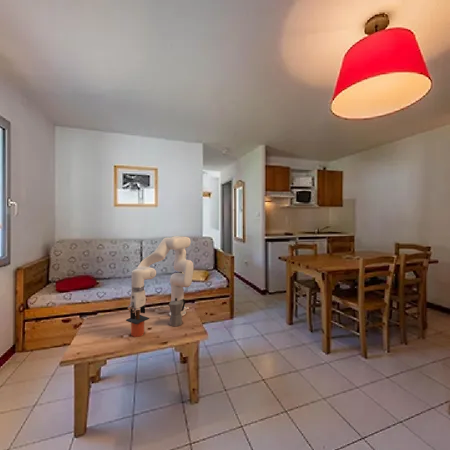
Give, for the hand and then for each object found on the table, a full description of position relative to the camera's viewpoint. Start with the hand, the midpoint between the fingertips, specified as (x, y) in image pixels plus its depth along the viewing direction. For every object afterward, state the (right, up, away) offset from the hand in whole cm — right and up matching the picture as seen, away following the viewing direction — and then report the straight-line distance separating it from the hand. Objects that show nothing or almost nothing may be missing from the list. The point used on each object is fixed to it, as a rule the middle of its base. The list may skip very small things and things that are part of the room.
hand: (137, 315), depth 154 cm
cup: (0, -11, 0) cm, 11 cm away
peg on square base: (0, -2, 0) cm, 3 cm away
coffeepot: (+22, -12, +16) cm, 30 cm away
